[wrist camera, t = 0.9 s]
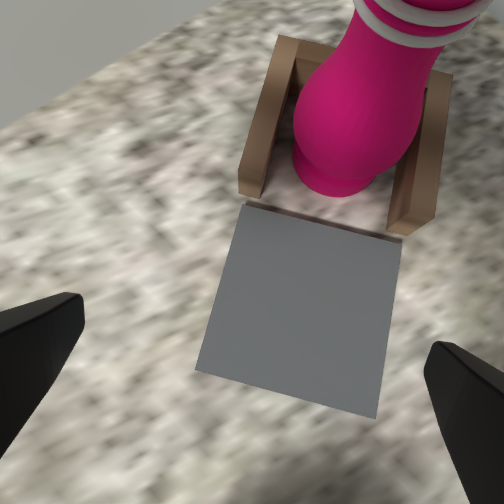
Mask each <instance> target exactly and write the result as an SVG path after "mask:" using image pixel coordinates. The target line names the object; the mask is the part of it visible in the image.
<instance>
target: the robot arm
mask: <svg viewBox="0 0 504 504" xmlns="http://www.w3.org/2000/svg"><path fill="white" fill-rule="evenodd" d="M84 326H85V314H84V301H83V297H82V296H81V295H80V294H78V293H70V292H63V293H60V294H56V295H53V296H50V297H47V298H43V299H40V300H37V301H34V302H30V303H27V304H24V305H21V306H18V307H14V308H11V309H8V310H5V311H1V312H0V459H1V457H2V456H3V455H4V453H5V452H6V450H7V449H8V447H9V446H10V445H11V443H12V442H13V440H14V439H15V437H16V436H17V435H18V433H19V432H20V430H21V429H22V428H23V426H24V425H25V423H26V422H27V420H28V419H29V418H30V416H31V415H32V413H33V412H34V410H35V409H36V408H37V406H38V405H39V403H40V402H41V400H42V399H43V398H44V396H45V395H46V393H47V392H48V391H49V389H50V388H51V386H52V385H53V383H54V382H55V380H56V378H57V377H58V375H59V373H60V371H61V370H62V368H63V366H64V364H65V362H66V361H67V359H68V357H69V355H70V353H71V352H72V350H73V348H74V346H75V344H76V343H77V341H78V339H79V337H80V335H81V334H82V332H83V329H84ZM424 378H425V381H426V385H427V388H428V391H429V395H430V398H431V401H432V405H433V408H434V412H435V415H436V418H437V422H438V425H439V428H440V431H441V434H442V436H443V439H444V442H445V444H446V447H447V449H448V452H449V454H450V456H451V459H452V461H453V464H454V466H455V468H456V471H457V473H458V476H459V478H460V481H461V483H462V485H463V488H464V490H465V493H466V495H467V497H468V500H469V502H470V504H504V373H503V372H501V371H500V370H498V369H496V368H495V367H493V366H491V365H490V364H488V363H486V362H485V361H483V360H481V359H479V358H478V357H476V356H474V355H473V354H471V353H469V352H468V351H466V350H464V349H463V348H461V347H459V346H457V345H456V344H454V343H451V342H443V341H436V342H434V343H433V345H432V347H431V350H430V352H429V355H428V358H427V361H426V363H425V366H424Z"/></svg>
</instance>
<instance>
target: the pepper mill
mask: <svg viewBox="0 0 504 504" xmlns="http://www.w3.org/2000/svg"><path fill="white" fill-rule="evenodd" d="M492 1H493V0H353V3H354V5H355V11H354V15H353V18H352V20H351V22H350V25H349V27H348V29H347V31H346V34H345V36H344V37H343V39H342V41H341V42H340V44H339V45H338V47H337V48H336V50H335V51H334V52H333V53H332V54H331V55H330V56H329V57H328V58H327V59H326V60H325V61H324V62H323V63H322V64H321V65H320V66H319V67H318V68H317V69H316V70H315V71H314V72H313V73H312V75H311V76H310V78H309V79H308V81H307V82H306V84H305V85H304V87H303V89H302V90H301V92H300V95H299V98H298V101H297V104H296V107H295V111H294V115H293V130H294V135H295V142H294V146H293V151H292V160H293V165H294V168H295V170H296V173H297V174H298V176H299V177H300V179H301V180H302V181H303V182H304V183H305V184H306V185H307V186H308V187H309V188H311V189H312V190H314V191H316V192H317V193H320V194H323V195H326V196H331V197H346V196H351V195H353V194H356V193H358V192H360V191H361V190H363V189H365V188H366V187H367V186H368V185H369V184H370V183H371V182H372V180H373V179H374V178H375V177H376V175H378V174H380V173H383V172H384V171H386V170H387V169H389V168H391V167H392V166H393V165H394V164H395V163H396V162H397V161H399V160H400V158H401V157H402V155H403V154H404V153H405V151H406V150H407V148H408V147H409V145H410V144H411V142H412V140H413V138H414V136H415V134H416V131H417V128H418V125H419V122H420V119H421V114H422V106H423V97H424V90H425V86H426V82H427V79H428V76H429V73H430V70H431V68H432V66H433V64H434V62H435V61H436V59H437V57H438V55H439V53H440V52H441V50H442V49H443V48H444V47H445V45H447V44H450V43H453V42H455V41H457V40H459V39H460V38H462V37H463V36H464V35H466V34H467V33H468V32H469V31H470V30H471V29H472V28H473V26H474V25H475V23H476V22H477V20H478V18H479V16H480V13H482V12H483V11H484V10H485V9H486V8H487V7H488V5H489V4H490V3H491V2H492Z"/></svg>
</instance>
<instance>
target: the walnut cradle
mask: <svg viewBox="0 0 504 504" xmlns="http://www.w3.org/2000/svg"><path fill="white" fill-rule="evenodd" d="M335 50H336V48H334V47H330V46H326V45H322V44H317V43H313V42H309V41H304V40H300V39H296V38H291V37H287V36H283V35H278V38H277V41H276V45H275V48H274V51H273V55H272V58H271V61H270V65H269V68H268V71H267V75H266V78H265V81H264V85H263V88H262V91H261V95H260V98H259V101H258V105H257V108H256V111H255V115H254V118H253V121H252V125H251V128H250V131H249V135H248V138H247V141H246V145H245V148H244V152H243V155H242V158H241V162H240V165H239V168H238V181H239V194H243V195H247V196H251V197H255V198H259V199H260V195H261V191H262V188H263V184H264V180H265V177H266V173H267V169H268V166H269V162H270V159H271V155H272V151H273V148H274V144H275V140H276V137H277V133H278V129H279V126H280V122H281V119H282V115H283V111H284V108H285V104H286V100H287V97H288V93H289V94H293V95H297V96H299V95H300V92H301V90H302V89H303V87H304V85H305V84H306V82H307V81H308V79H309V78H310V76H311V75H312V73H313V72H314V71H315V70H316V69H317V68H318V67H319V66H320V65H321V64H322V63H323V62H324V61H325V60H326V59H327V58H328V57H329V56H330V55H331V54H332V53H333V52H334V51H335ZM452 79H453V75H451V74H447V73H442V72H438V71H434V70H430V73H429V76H428V79H427V82H426V86H425V90H424V97H423V106H422V114H421V119H420V122H419V125H418V128H417V131H416V134H415V136H414V138H413V140H412V142H411V144H410V145H409V147H408V148H407V150H406V151H405V153H404V154H403V155H402V157H401V158H400V160H399V161H397V167H396V173H395V179H394V185H393V191H392V197H391V203H390V209H389V214H388V220H387V226H386V231H390V232H394V233H398V234H402V235H406V236H408V235H409V234H411V233H412V232H414V231H415V230H417V229H418V228H420V227H421V226H423V225H424V224H426V223H427V222H429V221H431V220H432V219H434V217H435V209H436V201H437V194H438V186H439V178H440V171H441V163H442V155H443V148H444V140H445V132H446V125H447V117H448V109H449V102H450V94H451V86H452Z"/></svg>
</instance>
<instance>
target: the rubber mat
mask: <svg viewBox="0 0 504 504" xmlns="http://www.w3.org/2000/svg"><path fill="white" fill-rule="evenodd" d="M401 250H402V244H398V243H394V242H390V241H386V240H382V239H378V238H374V237H370V236H366V235H362V234H358V233H354V232H350V231H346V230H342V229H338V228H335V227H331V226H327V225H323V224H319V223H315V222H311V221H307V220H303V219H299V218H295V217H291V216H287V215H283V214H279V213H275V212H271V211H267V210H263V209H259V208H255V207H251V206H248V205H244V204H242V207H241V211H240V214H239V218H238V221H237V225H236V228H235V232H234V235H233V239H232V242H231V246H230V249H229V253H228V256H227V260H226V263H225V267H224V270H223V274H222V277H221V280H220V284H219V287H218V291H217V294H216V298H215V301H214V305H213V308H212V312H211V315H210V319H209V322H208V326H207V329H206V333H205V336H204V340H203V343H202V347H201V350H200V354H199V357H198V360H197V364H196V367H195V370H197V371H201V372H205V373H208V374H212V375H216V376H219V377H223V378H227V379H230V380H234V381H238V382H241V383H245V384H249V385H252V386H256V387H260V388H263V389H267V390H270V391H274V392H278V393H281V394H285V395H289V396H292V397H296V398H300V399H303V400H307V401H311V402H314V403H318V404H322V405H325V406H329V407H333V408H336V409H340V410H344V411H347V412H351V413H354V414H358V415H362V416H365V417H369V418H373V419H376V413H377V407H378V400H379V394H380V387H381V380H382V374H383V367H384V361H385V354H386V348H387V341H388V335H389V328H390V322H391V315H392V309H393V302H394V295H395V289H396V282H397V276H398V269H399V263H400V256H401Z"/></svg>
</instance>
